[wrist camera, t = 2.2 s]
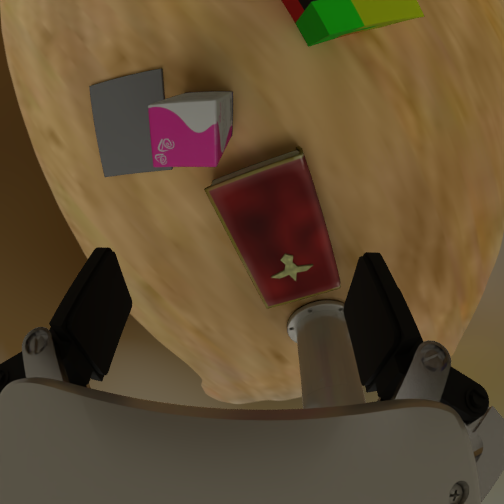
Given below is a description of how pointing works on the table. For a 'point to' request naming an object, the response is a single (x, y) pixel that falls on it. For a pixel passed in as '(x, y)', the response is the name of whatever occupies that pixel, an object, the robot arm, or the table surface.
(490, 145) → the table surface
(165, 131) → the supplement box
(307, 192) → the hardcover book
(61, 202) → the table surface
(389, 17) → the puzzle toy
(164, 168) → the mat
